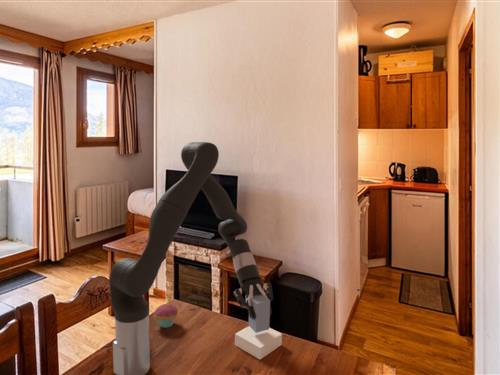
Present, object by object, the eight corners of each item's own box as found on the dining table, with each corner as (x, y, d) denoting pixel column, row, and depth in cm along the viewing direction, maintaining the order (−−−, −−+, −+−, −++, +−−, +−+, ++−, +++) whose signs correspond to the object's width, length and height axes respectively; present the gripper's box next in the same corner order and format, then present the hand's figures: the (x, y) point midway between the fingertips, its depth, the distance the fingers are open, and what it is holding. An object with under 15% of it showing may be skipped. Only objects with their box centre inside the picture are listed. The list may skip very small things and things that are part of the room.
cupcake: (164, 316, 133) (164, 286, 131) (183, 321, 129) (183, 291, 127) (149, 326, 125) (148, 295, 123) (168, 333, 122) (167, 300, 120)
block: (255, 333, 112) (256, 303, 111) (248, 325, 117) (249, 297, 115) (269, 329, 115) (270, 300, 113) (261, 321, 119) (262, 294, 117)
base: (259, 359, 109) (260, 347, 108) (234, 344, 116) (235, 333, 115) (281, 344, 117) (281, 333, 116) (256, 331, 124) (256, 321, 123)
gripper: (230, 267, 116) (246, 318, 107) (268, 260, 122) (285, 308, 114) (224, 276, 121) (238, 325, 113) (260, 269, 128) (276, 315, 119)
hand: (262, 316), depth 113 cm, fingers closed on block, 5 cm apart
